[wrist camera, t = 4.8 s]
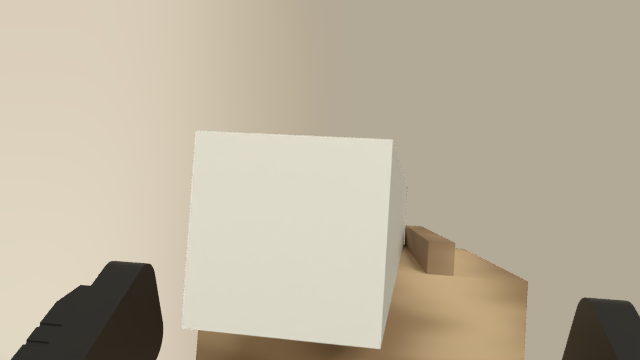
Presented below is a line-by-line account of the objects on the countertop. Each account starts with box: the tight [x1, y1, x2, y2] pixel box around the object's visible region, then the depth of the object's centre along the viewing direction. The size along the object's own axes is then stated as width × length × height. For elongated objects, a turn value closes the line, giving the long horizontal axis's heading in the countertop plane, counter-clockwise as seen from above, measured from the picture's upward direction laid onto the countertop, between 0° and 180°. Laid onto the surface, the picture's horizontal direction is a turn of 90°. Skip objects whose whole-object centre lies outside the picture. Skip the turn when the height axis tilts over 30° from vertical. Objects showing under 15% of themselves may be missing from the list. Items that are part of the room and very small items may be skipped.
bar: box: [182, 131, 407, 349], centre depth 20 cm, size 3×23×3 cm, turn 171°
